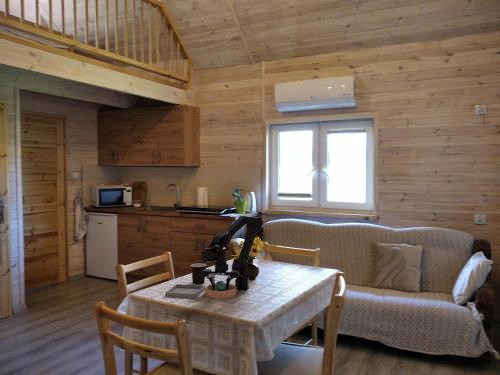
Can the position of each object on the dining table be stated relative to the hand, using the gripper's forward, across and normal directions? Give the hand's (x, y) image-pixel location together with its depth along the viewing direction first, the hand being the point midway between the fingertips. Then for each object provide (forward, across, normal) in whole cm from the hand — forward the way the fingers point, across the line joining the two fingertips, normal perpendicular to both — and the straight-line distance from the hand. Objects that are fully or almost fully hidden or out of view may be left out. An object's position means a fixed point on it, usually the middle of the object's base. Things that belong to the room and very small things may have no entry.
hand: (220, 290), depth 217 cm
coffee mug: (+2, +17, -20) cm, 26 cm away
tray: (+2, +18, +1) cm, 18 cm away
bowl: (+2, 0, 0) cm, 2 cm away
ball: (-2, 0, 0) cm, 2 cm away
